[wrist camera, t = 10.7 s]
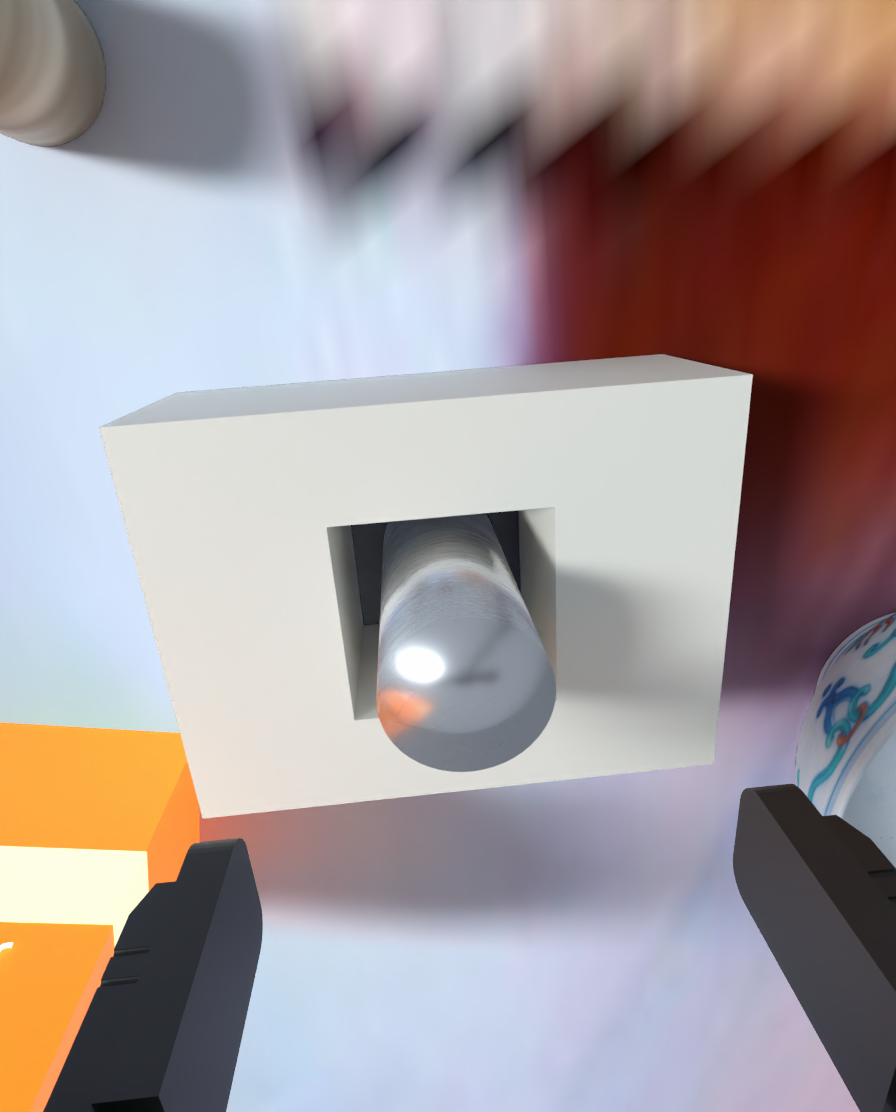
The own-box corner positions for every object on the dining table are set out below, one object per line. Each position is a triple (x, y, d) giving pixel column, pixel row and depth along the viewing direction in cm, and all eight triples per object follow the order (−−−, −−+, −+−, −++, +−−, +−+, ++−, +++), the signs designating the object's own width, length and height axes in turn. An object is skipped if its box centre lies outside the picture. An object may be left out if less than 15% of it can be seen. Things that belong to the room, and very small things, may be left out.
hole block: (662, 354, 22) (752, 374, 16) (646, 665, 26) (713, 764, 21) (176, 392, 21) (99, 427, 16) (244, 705, 26) (202, 818, 20)
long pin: (491, 484, 23) (555, 609, 14) (496, 587, 25) (557, 762, 15) (377, 494, 23) (366, 627, 14) (389, 597, 25) (386, 780, 15)
